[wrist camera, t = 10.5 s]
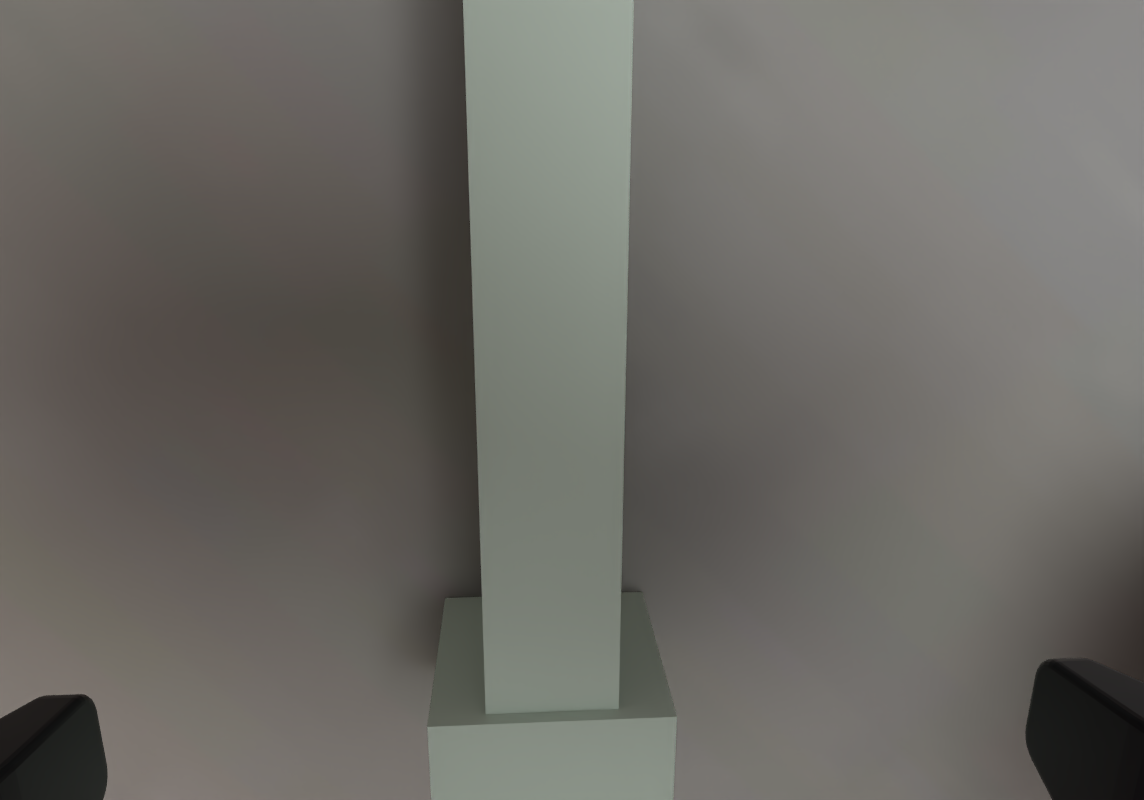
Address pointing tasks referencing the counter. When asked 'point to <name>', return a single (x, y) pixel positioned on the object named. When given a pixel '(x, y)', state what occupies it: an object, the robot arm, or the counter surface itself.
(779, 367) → the counter surface
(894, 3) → the counter surface
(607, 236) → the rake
